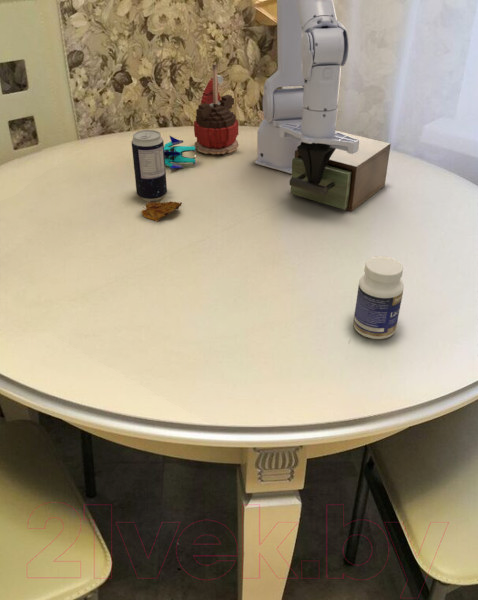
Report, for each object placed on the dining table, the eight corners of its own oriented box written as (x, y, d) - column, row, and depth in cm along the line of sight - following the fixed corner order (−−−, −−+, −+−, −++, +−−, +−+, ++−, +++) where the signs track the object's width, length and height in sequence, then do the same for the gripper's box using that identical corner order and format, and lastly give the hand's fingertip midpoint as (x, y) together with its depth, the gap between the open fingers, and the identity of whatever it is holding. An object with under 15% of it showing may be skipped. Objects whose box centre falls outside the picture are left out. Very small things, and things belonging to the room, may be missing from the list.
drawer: (332, 218, 107) (336, 182, 103) (277, 201, 113) (279, 166, 109) (375, 186, 118) (380, 152, 114) (324, 171, 124) (326, 138, 120)
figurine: (197, 139, 129) (140, 140, 130) (193, 135, 123) (134, 135, 124) (197, 171, 129) (141, 172, 130) (193, 168, 124) (134, 168, 124)
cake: (217, 161, 130) (214, 73, 120) (184, 151, 135) (179, 66, 125) (248, 146, 137) (248, 62, 127) (216, 137, 142) (214, 55, 132)
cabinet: (351, 211, 111) (356, 166, 106) (292, 193, 117) (294, 150, 112) (384, 186, 120) (391, 143, 115) (328, 170, 126) (331, 129, 121)
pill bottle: (395, 343, 81) (407, 279, 75) (351, 338, 81) (360, 274, 76) (395, 317, 85) (407, 255, 79) (354, 312, 86) (362, 251, 80)
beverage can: (172, 192, 118) (168, 131, 111) (159, 204, 114) (154, 142, 107) (145, 188, 119) (139, 127, 113) (131, 200, 115) (125, 138, 108)
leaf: (158, 202, 115) (156, 194, 114) (188, 206, 112) (186, 198, 111) (137, 219, 111) (135, 211, 110) (168, 224, 107) (166, 216, 106)
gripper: (270, 104, 103) (268, 181, 110) (347, 120, 95) (339, 201, 103) (292, 94, 107) (289, 169, 115) (368, 109, 100) (359, 187, 108)
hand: (314, 183), depth 109 cm, fingers closed, pressing on drawer
